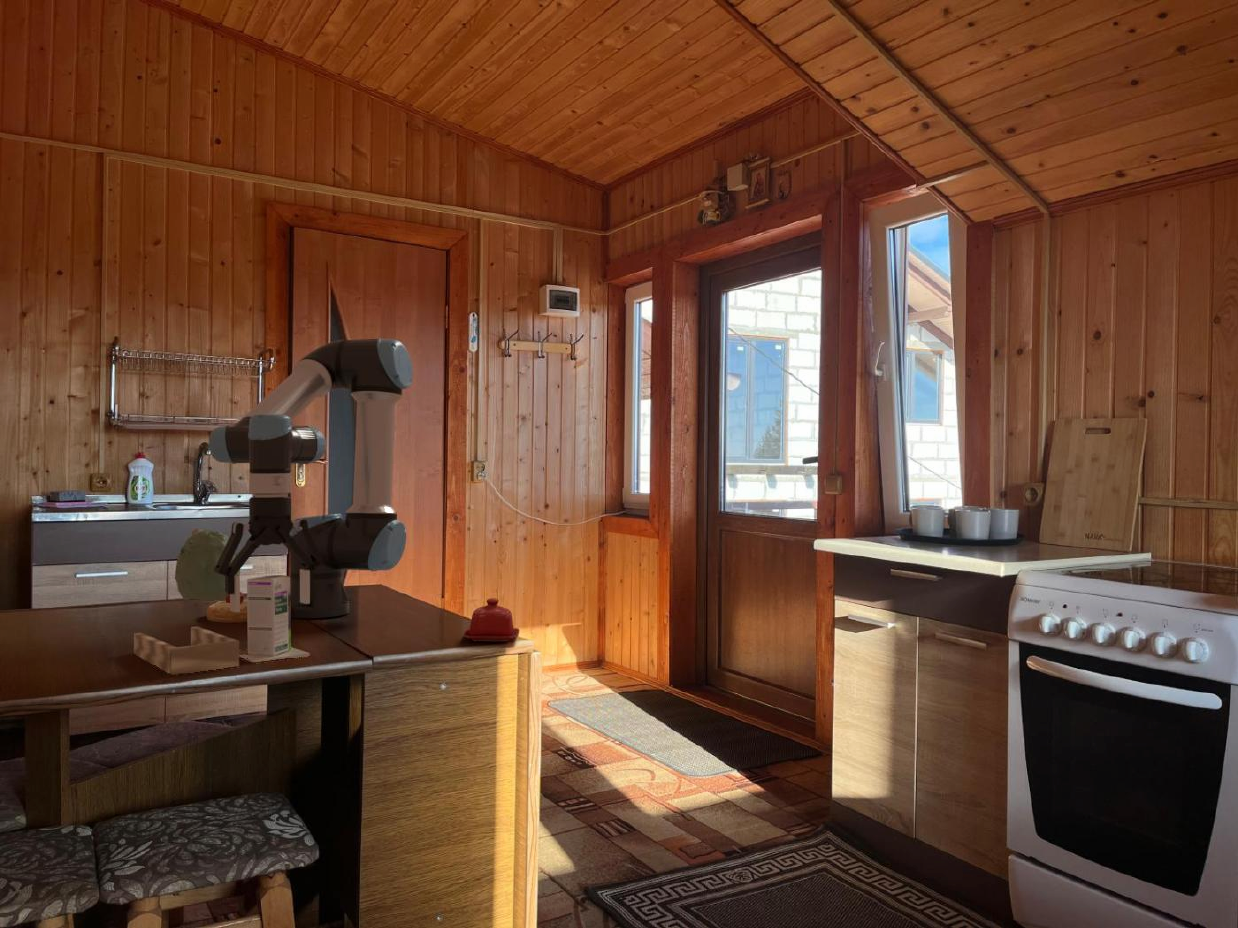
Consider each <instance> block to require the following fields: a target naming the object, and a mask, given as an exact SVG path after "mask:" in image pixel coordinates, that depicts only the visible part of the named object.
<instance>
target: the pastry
mask: <svg viewBox="0 0 1238 928" xmlns="http://www.w3.org/2000/svg"><path fill="white" fill-rule="evenodd" d="M206 618H207V619H206V620H207V621H210V622H215V623H221V624H222V623H224V624H225V623H229V624H230V623H234V624H235V623H245V622H246V623H247V598H246V599H245V595H244V593H243V592H242V591H240V612H233V611H230V594H227V595H226V596H225V601H218V602H216V603H214V604H209V606H208V607H207V609H206Z"/></svg>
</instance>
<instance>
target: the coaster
mask: <svg viewBox="0 0 1238 928" xmlns="http://www.w3.org/2000/svg"><path fill="white" fill-rule="evenodd" d="M310 655H311V653H310V652H307V651H304V650H302V649H298V648H295V647H292V646H291V650H290V651H287V652H283V653H280V654H277V655H276V656H257V655H245V654H244V655H239V657H241V658H244V659H246V660H249V661H250V662H261V661H270V660H276V659H285V658H295V659H302V658H309V657H308V656H310ZM299 657H300V658H299ZM301 657H302V658H301ZM247 658H248V659H247Z"/></svg>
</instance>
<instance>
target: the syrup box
mask: <svg viewBox="0 0 1238 928" xmlns="http://www.w3.org/2000/svg"><path fill="white" fill-rule="evenodd" d="M246 599H247V622H246V623H247V626H246V627H247V630H246V631H247V650H248V654H249V655H257V656H276V655H277V654H280V653H283V652H287V651H290V650H291V647H292V635H291V634H292V631H291V629H292V628H291V625H292V623H291V621H292V620H291V618H292V617H291V605H290V575H285V574H284V575H283V574H270V575H269V574H268V575H262V576H258V577H252V578H248V579H247V580H246Z"/></svg>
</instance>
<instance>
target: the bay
mask: <svg viewBox="0 0 1238 928" xmlns="http://www.w3.org/2000/svg"><path fill="white" fill-rule="evenodd" d="M239 651H240V640H238V639H235V638H231V637H228V636H226V635H223V634H220V633H217V632H214V631H211V630H208V629H205V628H203V627H200V626H191V627H190V645H185V646H177V647H176V646H175V645H172V644H169V643H167V642H165V641H162V640H160V639H157V638H155V637H153V636H150V635H147V634H145V633H142V632H137V633H135V632H134V634H133V654H134V655H135V656H137V657H139V658H141V659H142V660H143V661H145V662H147V661H148V663H150V664H151V665H153V666H154V665H156V666H157V667H159V668H160V669H159V668H158V669H159V670H161V669H162V670H161V671H163V670H164V671H165V672H164V671H163V672H164V673H166V672H167V673H166V674H168V673H170V674H172V675H173V674H179V673H191V674H195V673H194V672H199V673H201V672H200V671H207V672H209V671H208V670H214V671H217V670H216V669H222V670H224V669H223V668H228V667H234V666H239V667H240V658H239ZM156 666H155V667H156ZM157 667H156V668H157Z"/></svg>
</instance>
